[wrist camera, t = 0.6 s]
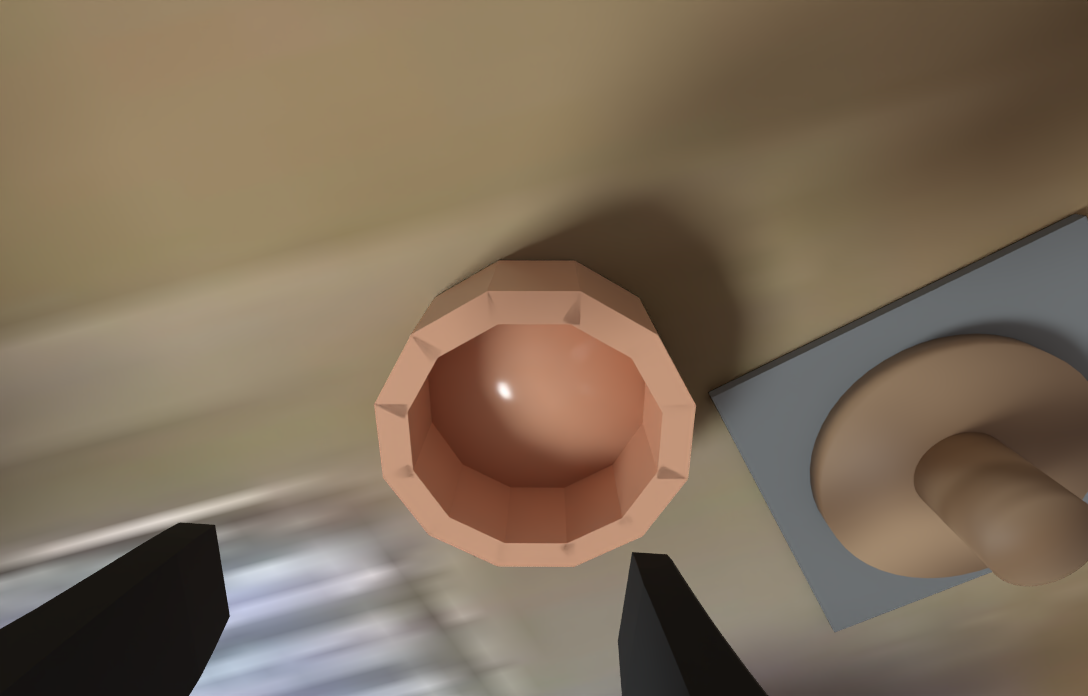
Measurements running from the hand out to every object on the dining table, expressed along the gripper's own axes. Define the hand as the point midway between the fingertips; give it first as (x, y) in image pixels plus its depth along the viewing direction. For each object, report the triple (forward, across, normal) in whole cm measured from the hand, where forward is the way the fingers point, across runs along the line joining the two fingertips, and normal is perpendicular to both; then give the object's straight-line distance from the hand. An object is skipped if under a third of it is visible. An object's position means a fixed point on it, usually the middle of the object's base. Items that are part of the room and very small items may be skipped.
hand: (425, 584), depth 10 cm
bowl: (+10, -2, +1) cm, 10 cm away
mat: (+10, -16, +2) cm, 19 cm away
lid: (+10, -16, +2) cm, 19 cm away
